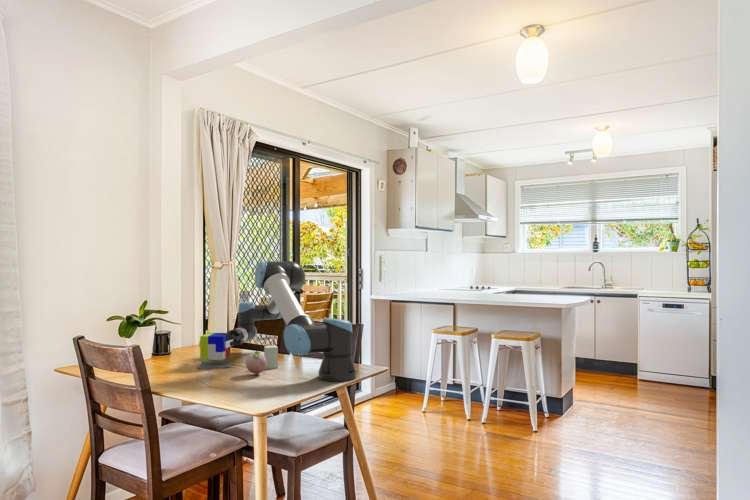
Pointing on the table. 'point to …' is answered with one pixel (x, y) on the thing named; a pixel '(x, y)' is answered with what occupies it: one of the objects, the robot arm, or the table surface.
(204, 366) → the mat
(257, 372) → the decorative fruit
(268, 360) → the sage block
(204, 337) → the puzzle toy
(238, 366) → the table surface
